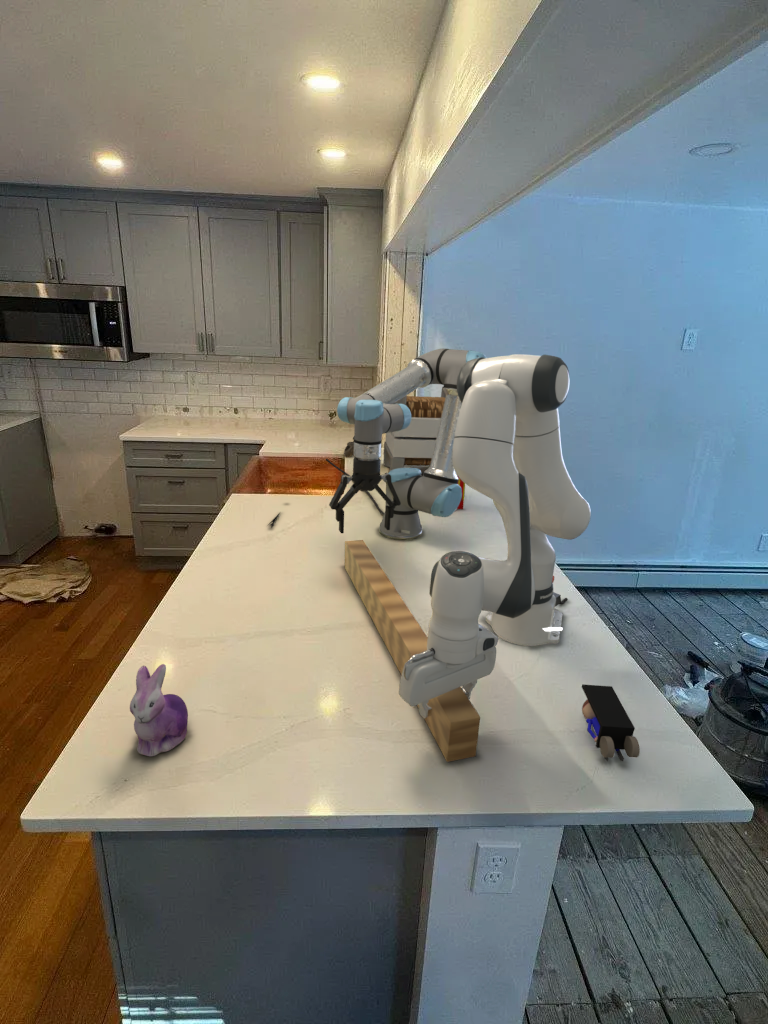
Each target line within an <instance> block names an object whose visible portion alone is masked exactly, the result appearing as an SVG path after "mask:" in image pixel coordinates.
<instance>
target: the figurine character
mask: <svg viewBox="0 0 768 1024" xmlns="http://www.w3.org/2000/svg"><path fill="white" fill-rule="evenodd" d="M581 688H582V691H583V693H584V695H585V697H586V700H585V701H584V702H583V704H582V707H581V713H582V715H583V717H584V718H585V721H586V723H587V732H588V734H589V735H590V736H591V738H592V739H593V741H594V742H595V748H596V749H599V751H600V754H601V755H602V757H603V760H605V761H606V762H609V759H613V758H614V756H615V752H616V755H617V757H618V760H619V761H620V762H624V761H625V757H624V754H623V753H622V751H624V752H625V754H626V756H627V757H628V758H639V756H640V754H641V753H640V752H641V748H640V743H639V740H638V738H637V737H636V736H634V733H635V730H636V728H635V726H634V724H633V722H632V720H631V718H630V717H629V715H628V713H627V711H626V708H625V707H624V706H623V703H622V702H621V700H620V698H619V696H618V695H617V692H616V691H615V689H614V687H613V686H611V685H598V684H581ZM592 728H593V730H594V731H593V730H592ZM621 750H622V751H621Z"/></svg>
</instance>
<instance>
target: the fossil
mask: <svg viewBox="0 0 768 1024" xmlns="http://www.w3.org/2000/svg"><path fill="white" fill-rule="evenodd" d="M352 440H353V441H348V442H347V443H346V446H345V448H344V453H343V455H344V457H345V458H350V457H352V456H354V436H353V437H352Z"/></svg>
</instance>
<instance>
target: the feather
mask: <svg viewBox="0 0 768 1024" xmlns="http://www.w3.org/2000/svg"><path fill="white" fill-rule="evenodd" d="M280 514H281V512H279V513H278V514H276V516H275V517H274V518H273V519H272V520H271V521H270V522H269V523H267V526H269V525H270V529H272V528H273V526H274V525H275V522H276V521H277V519H278V517H279V515H280ZM267 526H266V527H267Z"/></svg>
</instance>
